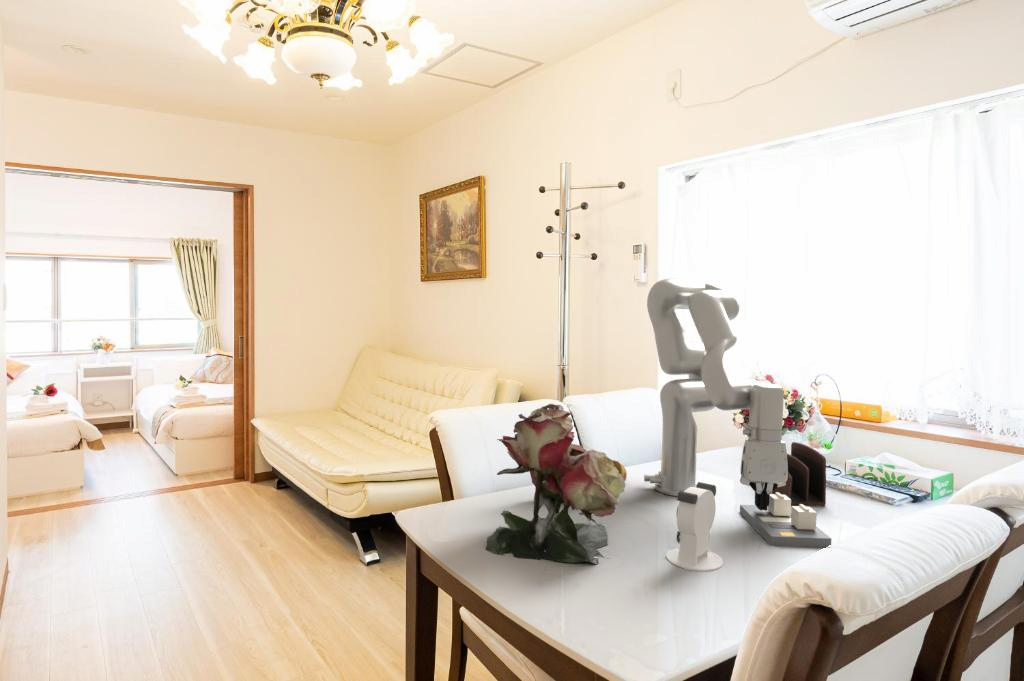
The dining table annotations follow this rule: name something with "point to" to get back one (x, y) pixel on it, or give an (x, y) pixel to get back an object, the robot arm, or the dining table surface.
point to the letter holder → (805, 477)
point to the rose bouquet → (557, 491)
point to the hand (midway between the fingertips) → (761, 508)
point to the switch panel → (782, 529)
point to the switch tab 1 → (779, 504)
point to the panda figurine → (695, 529)
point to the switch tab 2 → (803, 517)
